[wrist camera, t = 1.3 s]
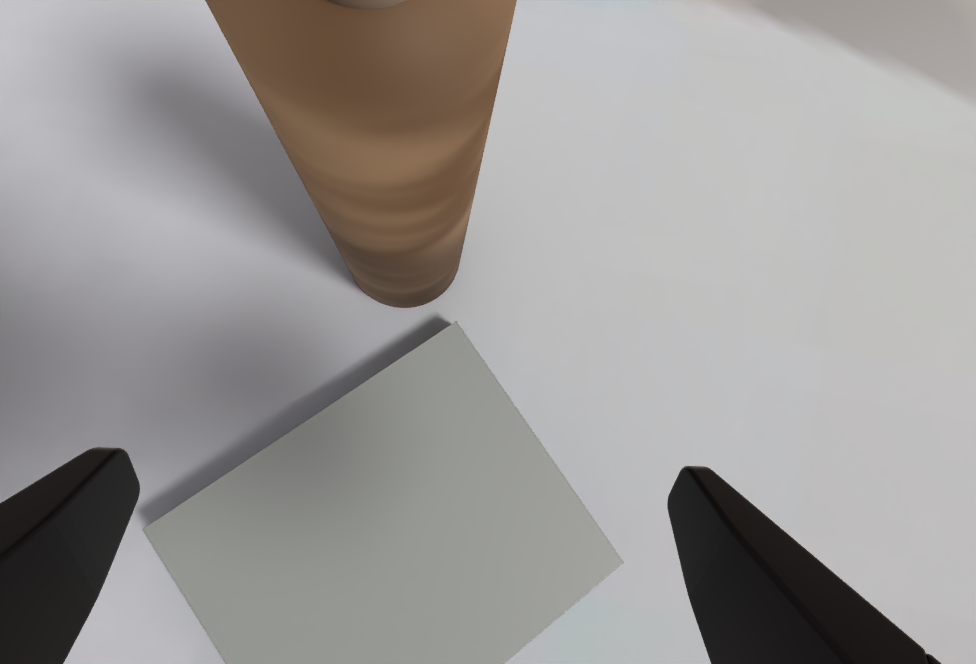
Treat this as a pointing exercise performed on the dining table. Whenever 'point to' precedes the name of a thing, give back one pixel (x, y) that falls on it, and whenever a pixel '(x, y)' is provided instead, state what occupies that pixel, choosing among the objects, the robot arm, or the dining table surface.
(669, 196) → the dining table surface
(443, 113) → the pepper mill
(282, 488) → the slate board
